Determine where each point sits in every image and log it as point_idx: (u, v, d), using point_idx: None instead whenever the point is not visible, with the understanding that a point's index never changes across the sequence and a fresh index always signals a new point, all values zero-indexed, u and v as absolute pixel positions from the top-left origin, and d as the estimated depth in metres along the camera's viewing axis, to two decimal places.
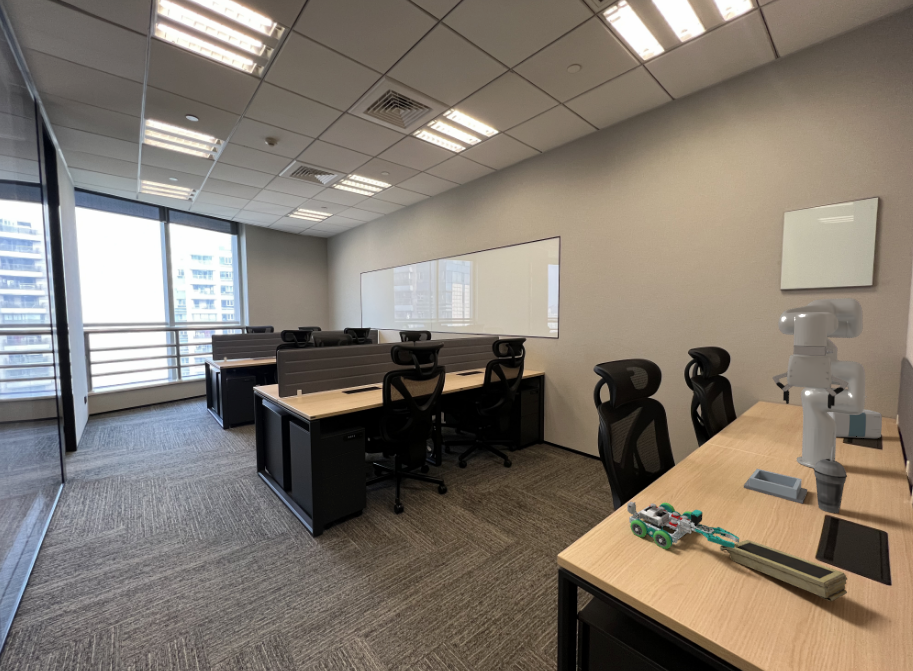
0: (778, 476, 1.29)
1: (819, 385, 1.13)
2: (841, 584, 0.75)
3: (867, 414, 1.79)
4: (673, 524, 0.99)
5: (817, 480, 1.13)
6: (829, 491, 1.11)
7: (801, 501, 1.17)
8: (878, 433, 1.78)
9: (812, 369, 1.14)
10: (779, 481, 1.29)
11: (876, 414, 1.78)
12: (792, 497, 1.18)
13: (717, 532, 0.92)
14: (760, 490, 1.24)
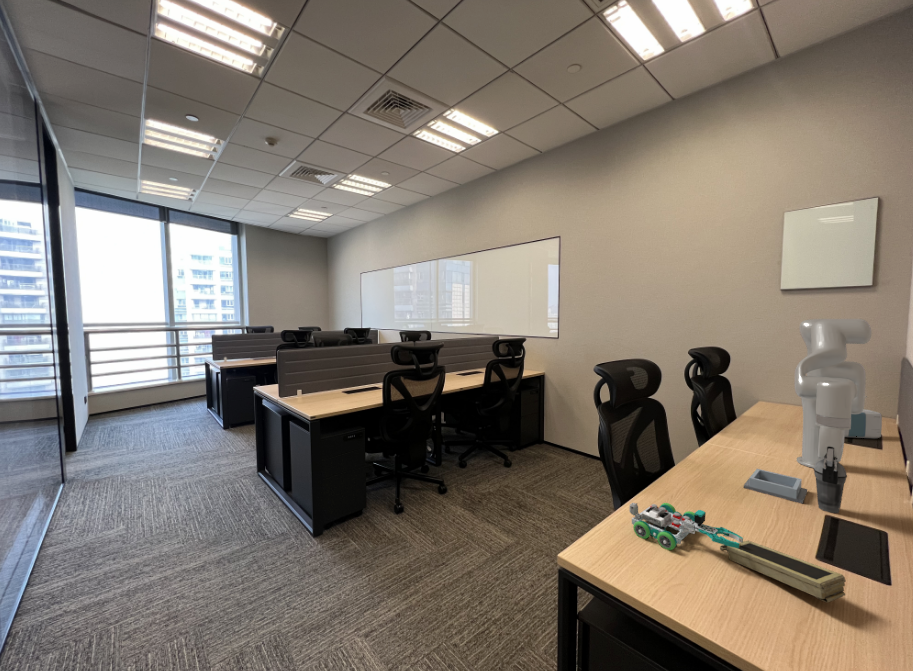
0: (778, 476, 1.29)
1: None
2: (839, 586, 0.74)
3: (867, 414, 1.79)
4: (676, 525, 0.99)
5: (817, 480, 1.13)
6: (829, 491, 1.11)
7: (801, 501, 1.17)
8: (878, 433, 1.78)
9: None
10: (779, 481, 1.29)
11: (876, 414, 1.78)
12: (792, 497, 1.18)
13: (720, 532, 0.92)
14: (760, 490, 1.24)
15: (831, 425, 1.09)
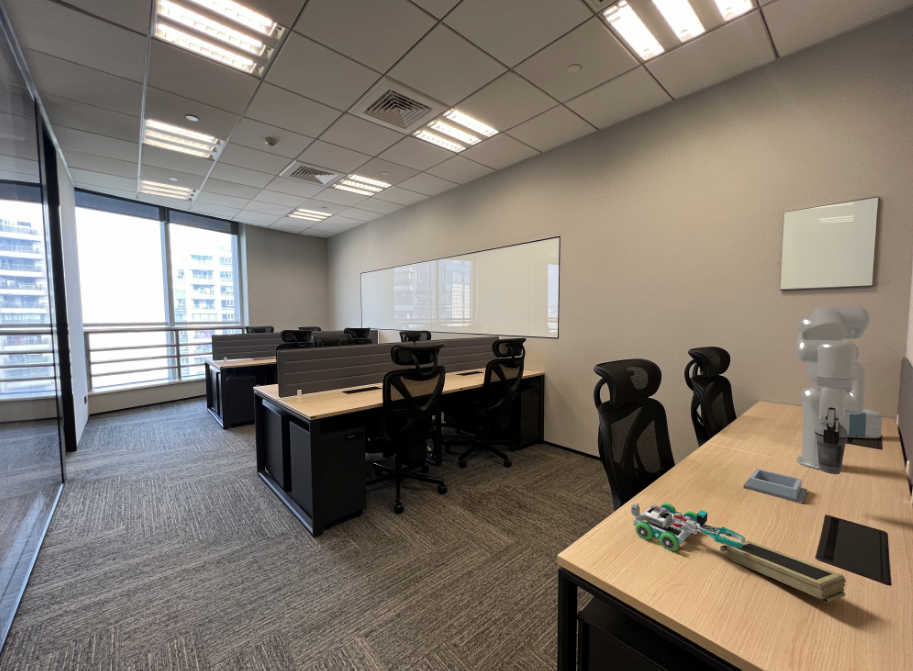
0: (778, 476, 1.29)
1: None
2: (839, 586, 0.74)
3: (867, 414, 1.79)
4: (678, 526, 0.99)
5: (818, 442, 1.13)
6: (830, 452, 1.11)
7: (801, 501, 1.17)
8: (878, 433, 1.78)
9: (844, 400, 1.10)
10: (779, 481, 1.29)
11: (876, 414, 1.78)
12: (792, 497, 1.18)
13: (723, 532, 0.92)
14: (760, 490, 1.24)
15: (832, 386, 1.09)
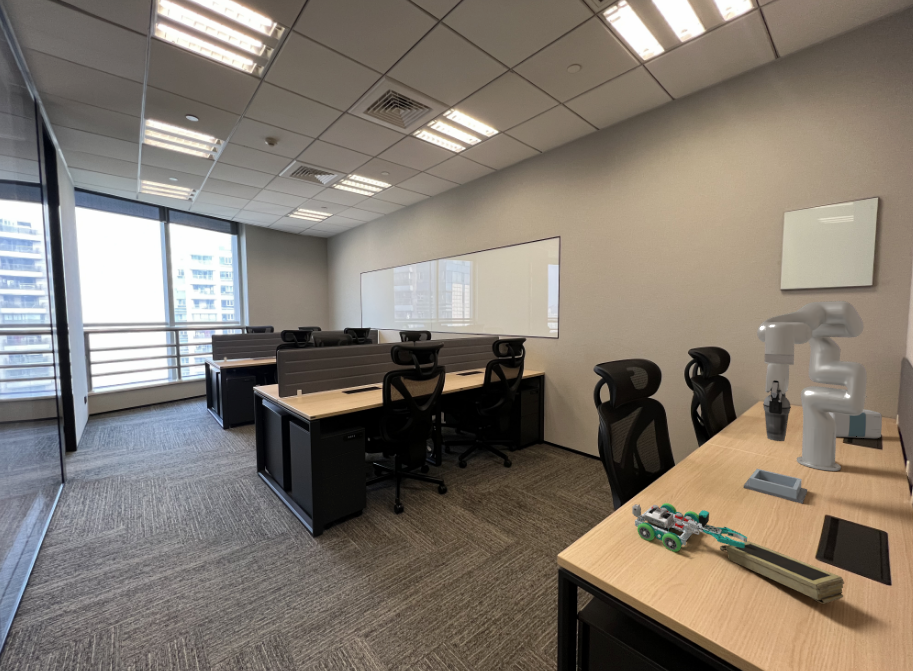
0: (778, 476, 1.29)
1: (787, 388, 1.25)
2: (837, 588, 0.74)
3: (867, 414, 1.79)
4: (679, 526, 0.99)
5: (766, 413, 1.26)
6: (775, 421, 1.24)
7: (801, 501, 1.17)
8: (878, 433, 1.78)
9: (787, 375, 1.23)
10: (779, 481, 1.29)
11: (876, 414, 1.78)
12: (792, 497, 1.18)
13: (725, 532, 0.92)
14: (760, 490, 1.24)
15: (776, 361, 1.22)
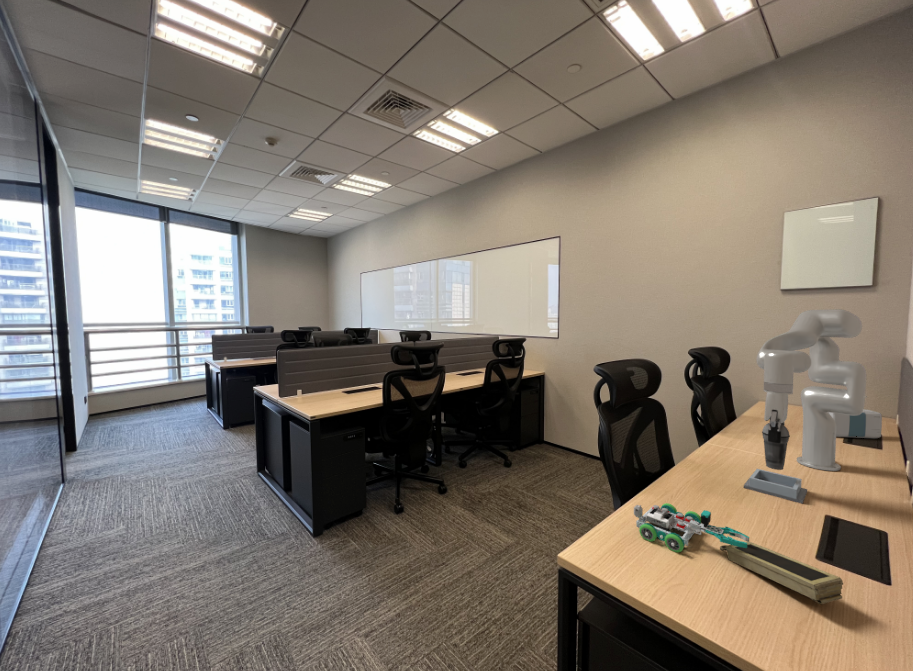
0: (778, 476, 1.29)
1: (786, 417, 1.25)
2: (835, 588, 0.73)
3: (867, 414, 1.79)
4: (681, 526, 0.98)
5: (764, 441, 1.26)
6: (774, 450, 1.24)
7: (801, 501, 1.17)
8: (878, 433, 1.78)
9: (786, 404, 1.24)
10: (779, 481, 1.29)
11: (876, 414, 1.78)
12: (792, 497, 1.18)
13: (726, 532, 0.92)
14: (760, 490, 1.24)
15: (775, 390, 1.22)
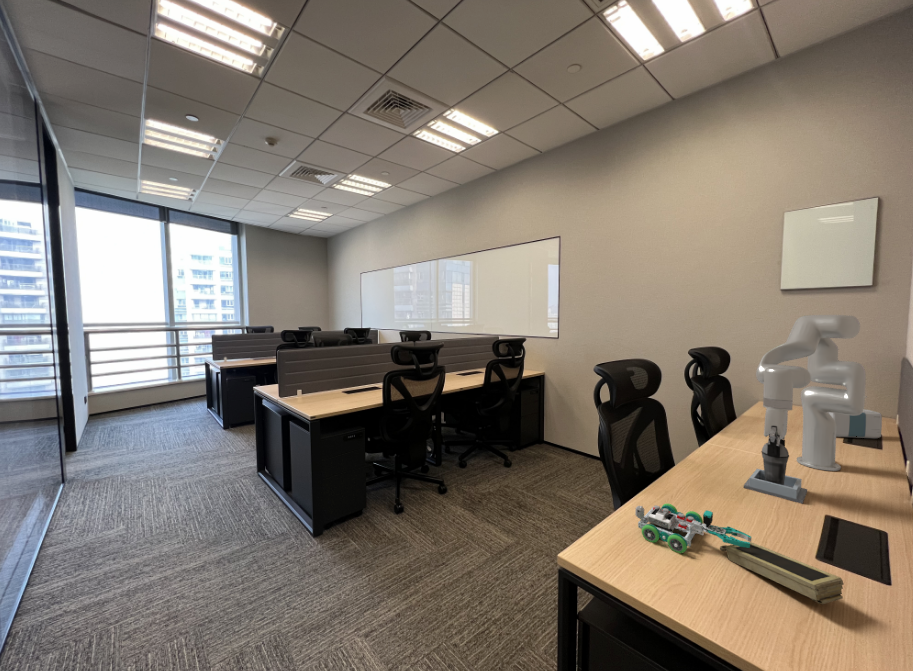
0: None
1: (786, 432, 1.25)
2: (836, 588, 0.73)
3: (867, 414, 1.79)
4: (683, 527, 0.98)
5: (764, 460, 1.27)
6: (773, 470, 1.24)
7: (801, 501, 1.17)
8: (878, 433, 1.78)
9: None
10: None
11: (876, 414, 1.78)
12: (792, 497, 1.18)
13: (729, 532, 0.92)
14: (760, 490, 1.24)
15: (775, 406, 1.23)
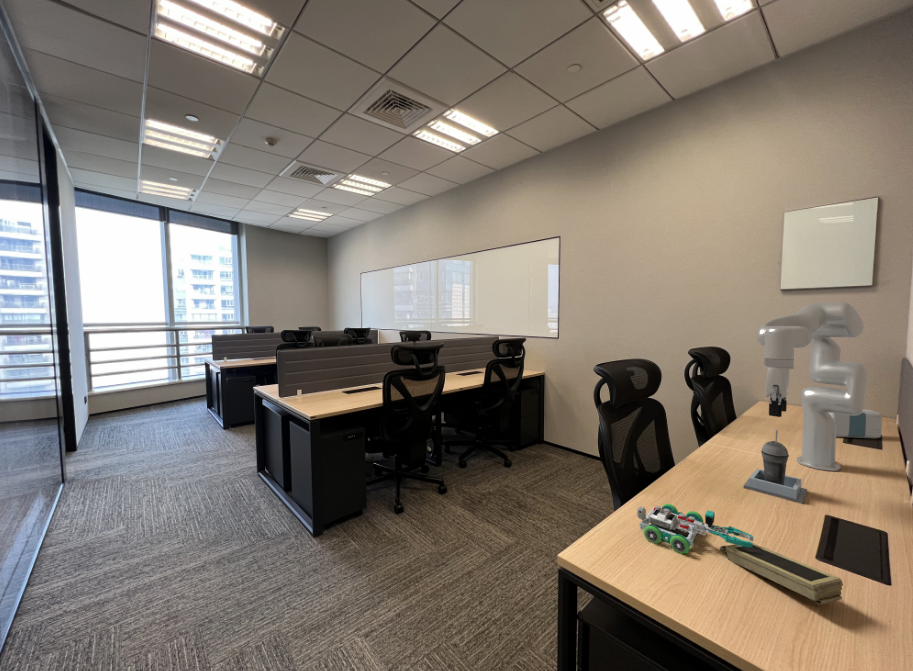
0: None
1: (787, 392, 1.25)
2: (835, 589, 0.73)
3: (867, 414, 1.79)
4: (684, 527, 0.98)
5: (764, 460, 1.27)
6: (773, 470, 1.24)
7: (801, 501, 1.17)
8: (878, 433, 1.78)
9: (787, 379, 1.24)
10: None
11: (876, 414, 1.78)
12: (792, 497, 1.18)
13: (731, 532, 0.92)
14: (760, 490, 1.24)
15: (776, 366, 1.22)
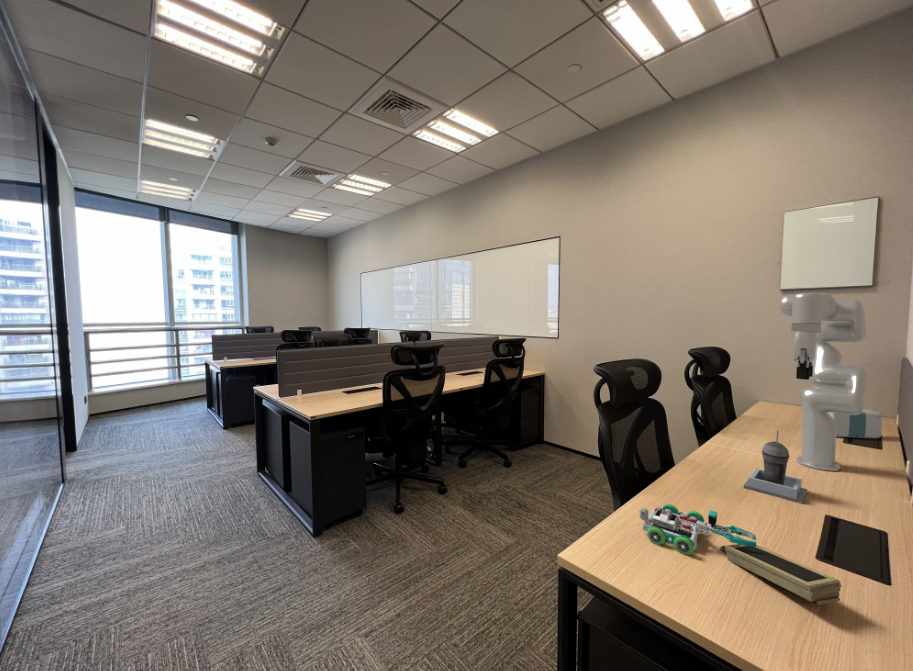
0: None
1: (814, 357, 1.27)
2: (833, 590, 0.73)
3: (867, 414, 1.79)
4: (687, 527, 0.98)
5: (764, 460, 1.27)
6: (774, 470, 1.24)
7: (801, 501, 1.17)
8: (878, 433, 1.78)
9: None
10: None
11: (876, 414, 1.78)
12: (792, 497, 1.18)
13: (733, 531, 0.92)
14: (760, 490, 1.24)
15: (804, 330, 1.25)
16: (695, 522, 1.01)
